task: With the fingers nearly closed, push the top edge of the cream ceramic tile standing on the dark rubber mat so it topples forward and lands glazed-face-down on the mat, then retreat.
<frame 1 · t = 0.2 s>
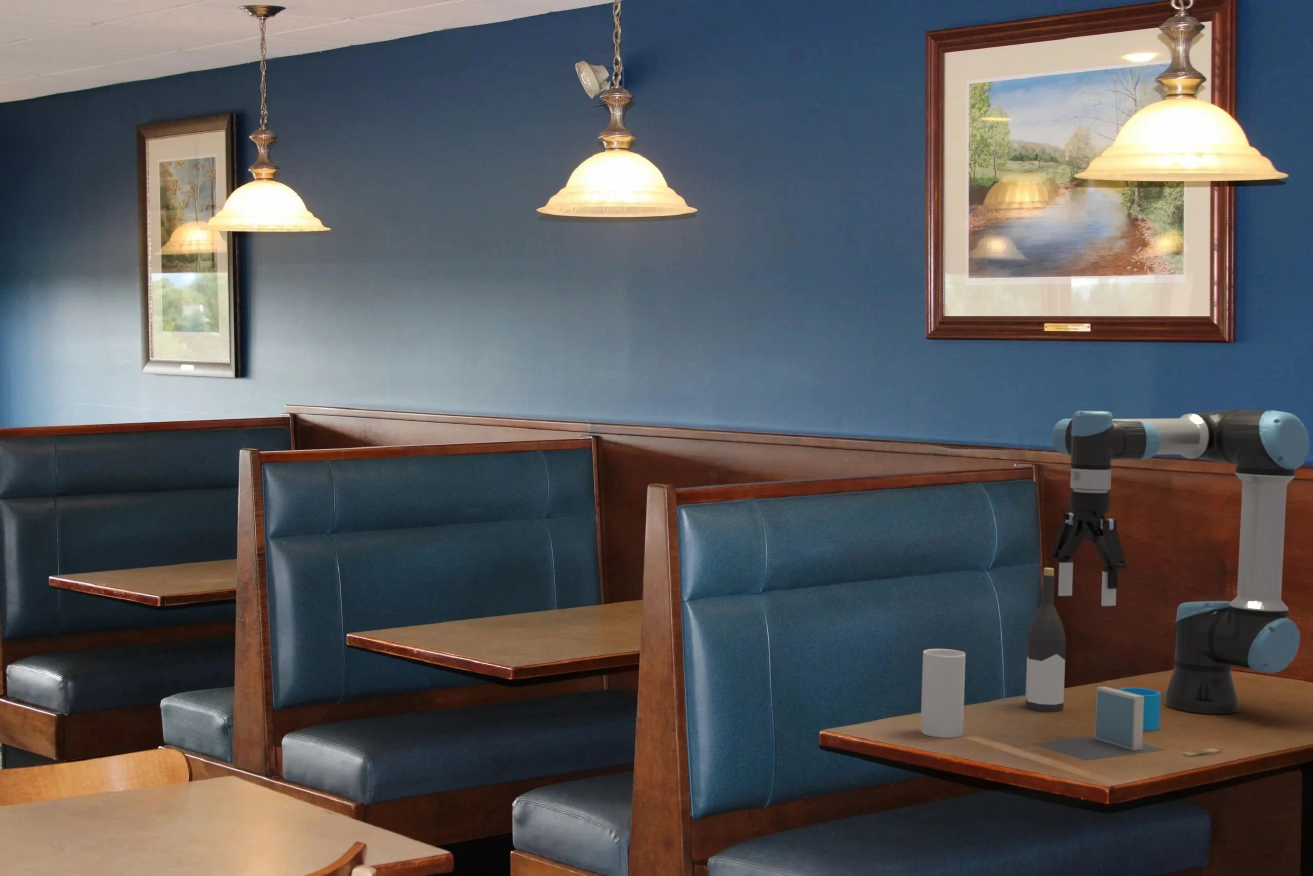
hand: (1086, 600, 302), 28 cm above the table, fingers open, 13 cm apart
mat: (1098, 752, 295), on the table
turner: (1185, 762, 289), on the table
cup: (941, 734, 308), on the table
mug: (1131, 731, 315), on the table
tile: (1117, 744, 297), point 1 cm above the table, touching mat
wine bottle: (1044, 708, 334), on the table
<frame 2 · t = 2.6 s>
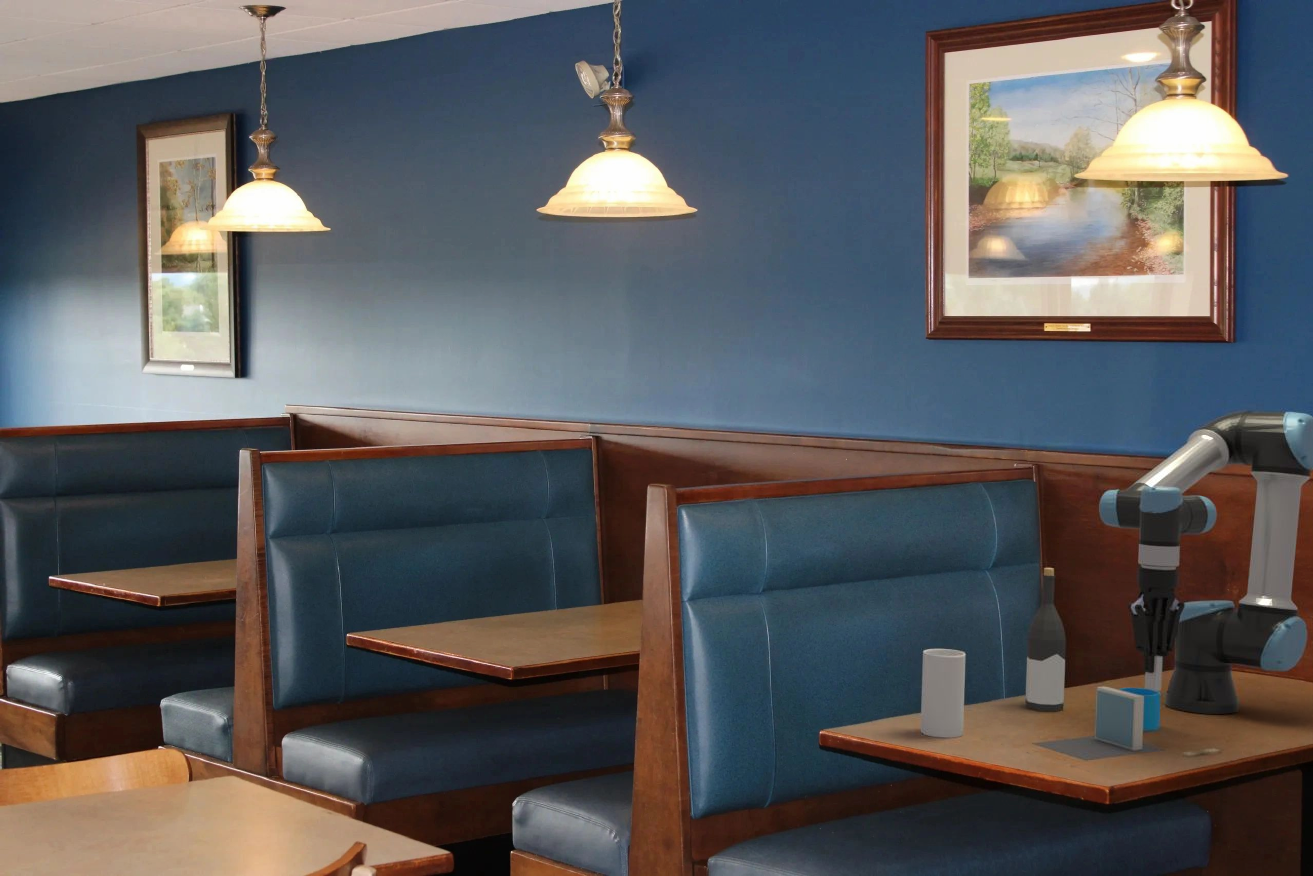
hand: (1152, 689, 301), 11 cm above the table, fingers closed
nothing on the table moved.
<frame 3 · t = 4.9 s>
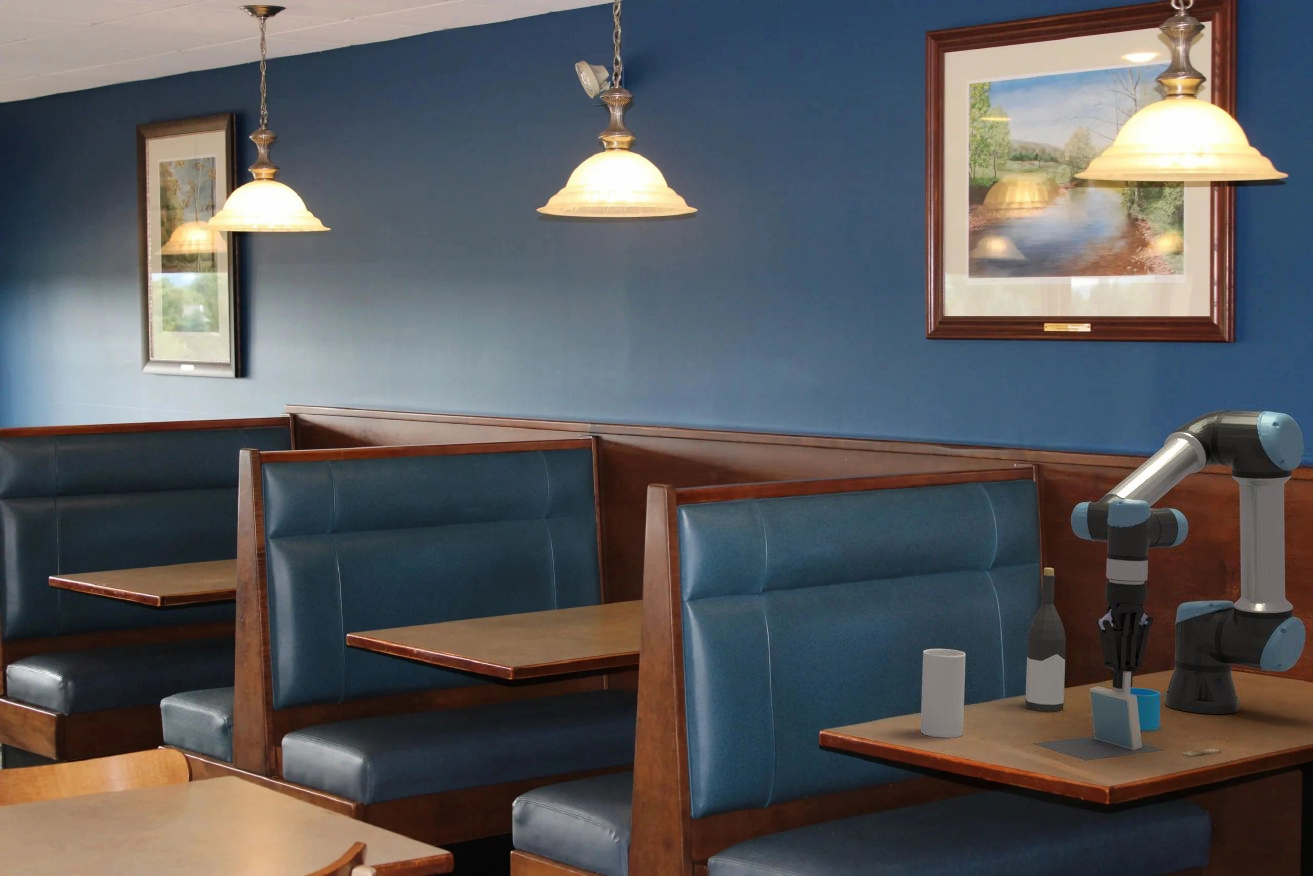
hand: (1121, 705, 297), 9 cm above the table, fingers closed
tile: (1117, 743, 297), point 1 cm above the table, tilted 11°, touching mat
everything else where it was.
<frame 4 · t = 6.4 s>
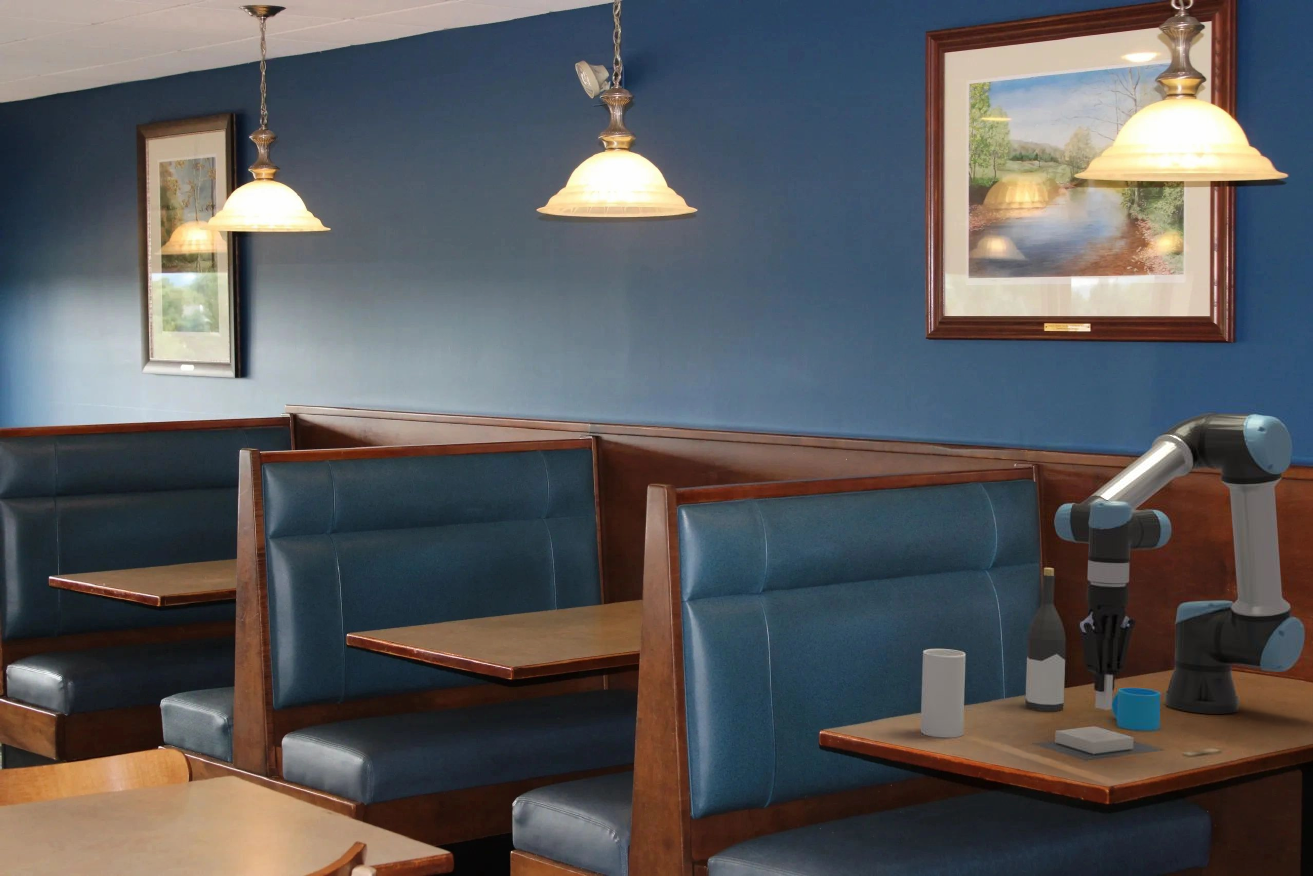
hand: (1103, 708, 295), 8 cm above the table, fingers closed
tile: (1113, 738, 296), point 2 cm above the table, tilted 90°, touching mat
everything else where it was.
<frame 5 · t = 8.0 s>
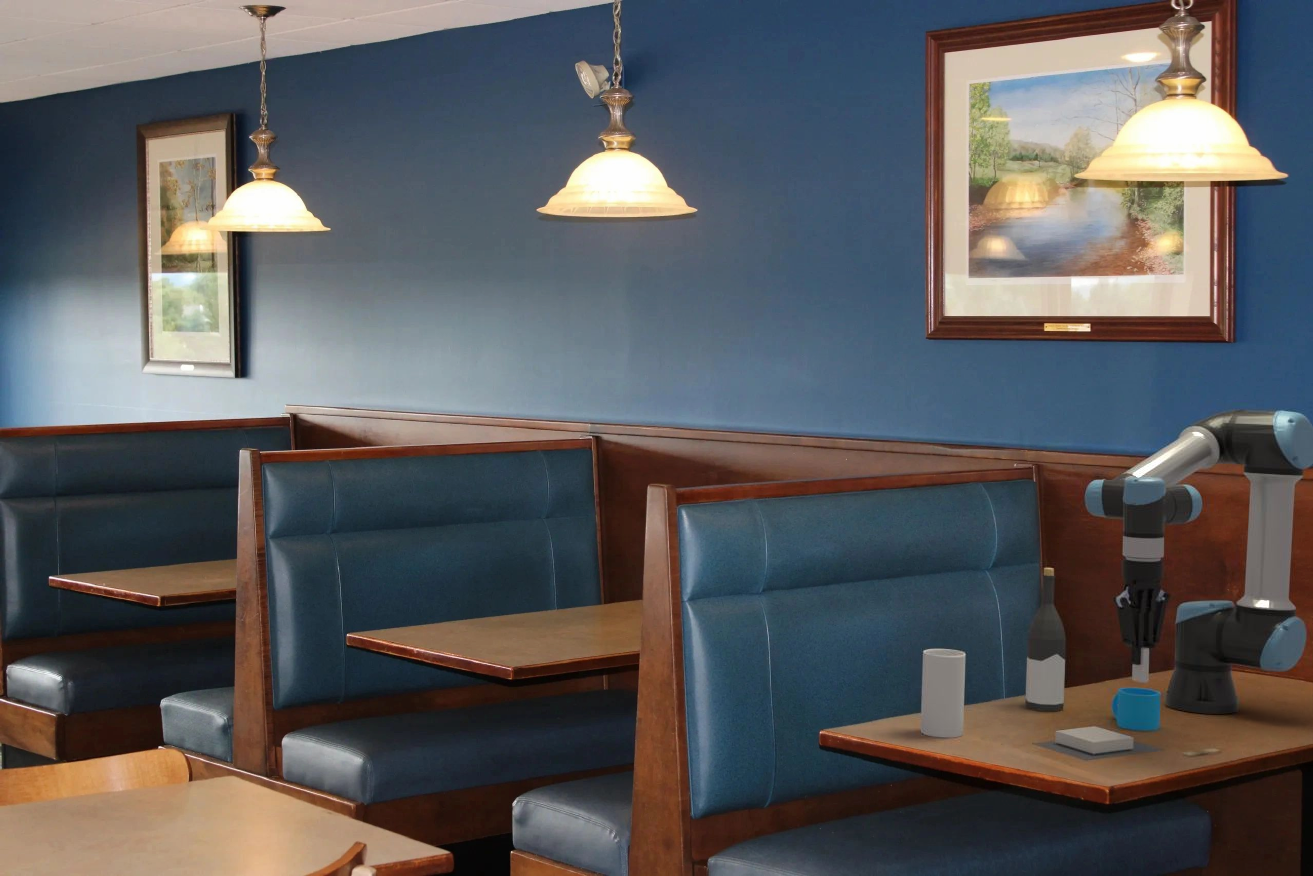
hand: (1140, 681, 299), 13 cm above the table, fingers closed
nothing on the table moved.
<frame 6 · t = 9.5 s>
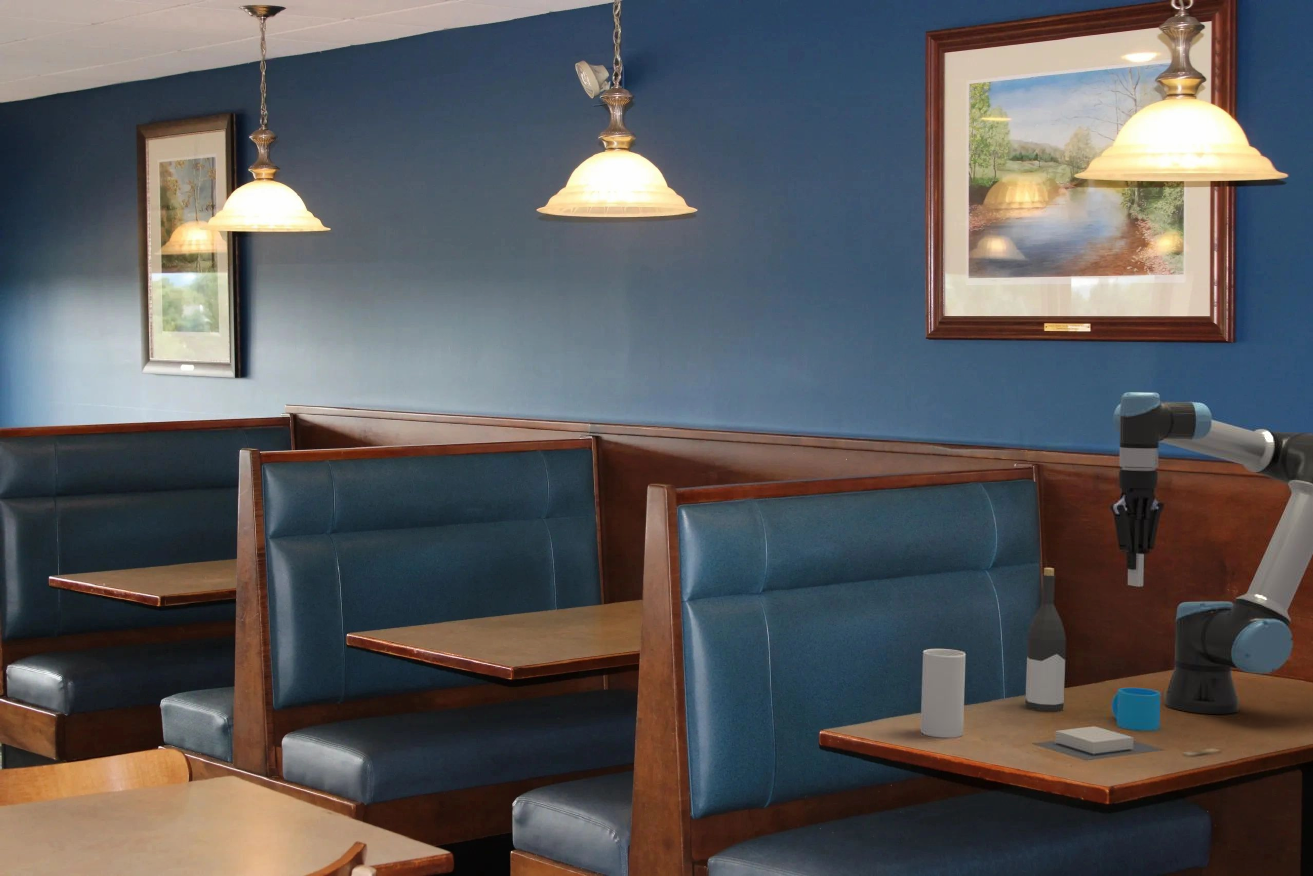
hand: (1135, 585, 316), 29 cm above the table, fingers closed
nothing on the table moved.
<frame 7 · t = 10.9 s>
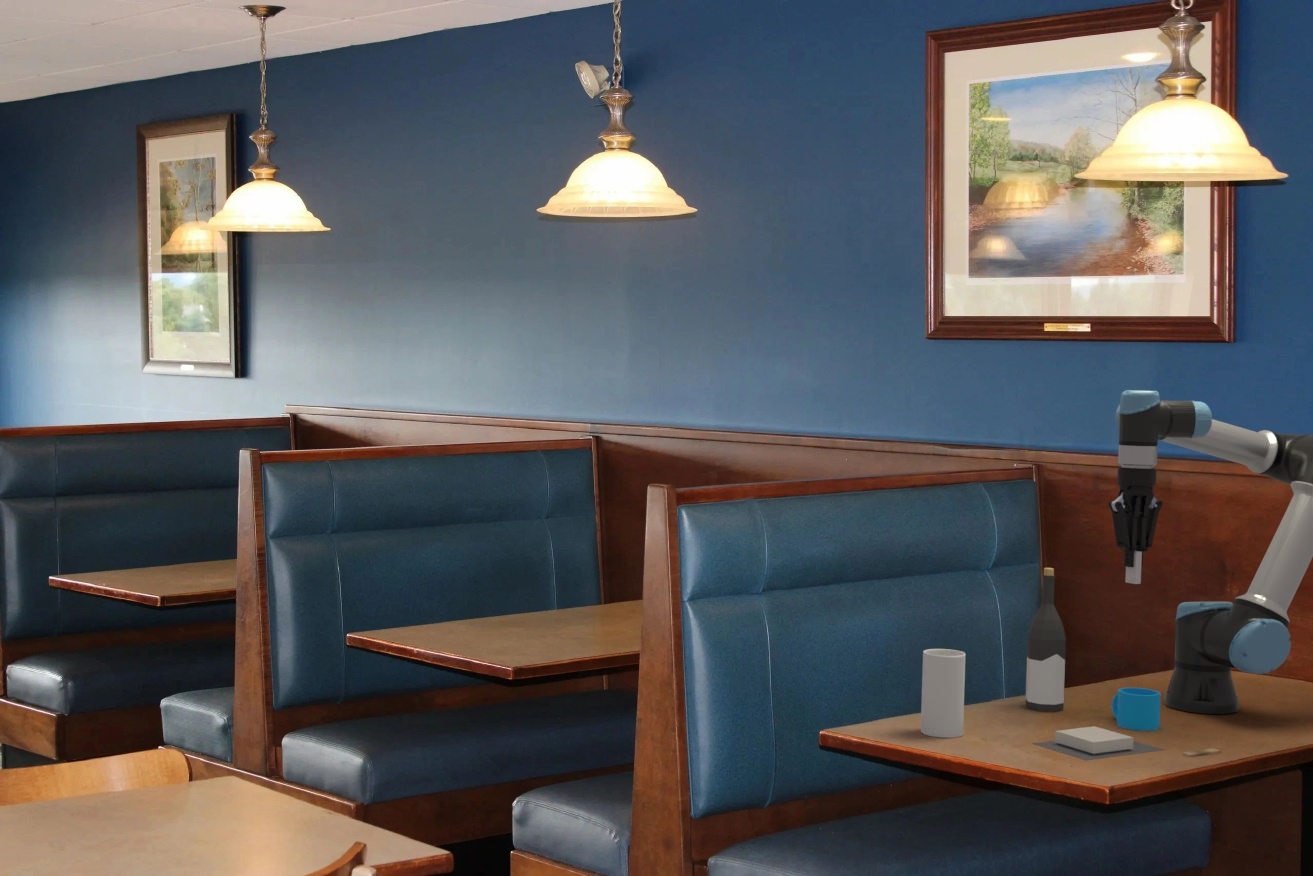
hand: (1133, 583, 316), 29 cm above the table, fingers closed
nothing on the table moved.
at the end: tile tilted 90°; tile inside the target area (6.9 cm from its centre), point 2.4 cm above the table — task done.
